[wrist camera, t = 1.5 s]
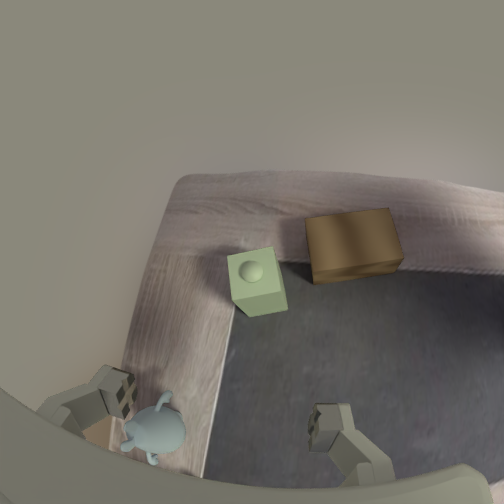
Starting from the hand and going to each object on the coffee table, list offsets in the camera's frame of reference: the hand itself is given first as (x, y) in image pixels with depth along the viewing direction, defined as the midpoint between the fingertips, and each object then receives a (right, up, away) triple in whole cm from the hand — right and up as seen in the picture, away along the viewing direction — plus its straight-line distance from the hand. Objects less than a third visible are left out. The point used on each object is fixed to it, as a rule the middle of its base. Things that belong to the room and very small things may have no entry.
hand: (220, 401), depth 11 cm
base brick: (+14, +6, +25) cm, 29 cm away
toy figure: (-8, -16, +20) cm, 27 cm away
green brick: (+3, +1, +25) cm, 25 cm away
